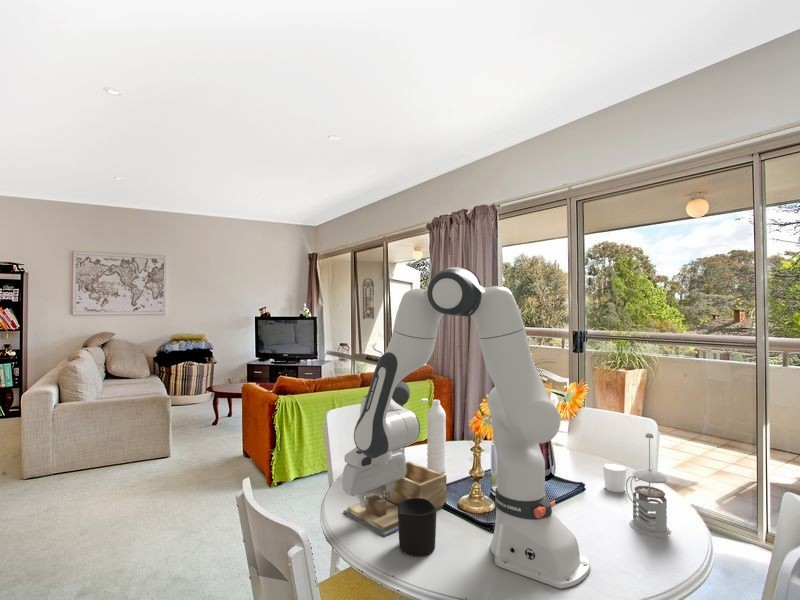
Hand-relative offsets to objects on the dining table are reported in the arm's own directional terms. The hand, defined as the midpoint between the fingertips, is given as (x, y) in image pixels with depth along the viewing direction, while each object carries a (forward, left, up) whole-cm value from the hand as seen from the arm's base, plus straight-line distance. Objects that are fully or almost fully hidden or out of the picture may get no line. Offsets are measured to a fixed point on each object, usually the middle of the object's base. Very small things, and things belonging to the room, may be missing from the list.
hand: (376, 502), depth 125 cm
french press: (-52, -50, -5) cm, 72 cm away
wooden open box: (0, -14, -5) cm, 15 cm away
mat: (0, -1, -5) cm, 5 cm away
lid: (0, -1, -4) cm, 4 cm away
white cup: (-36, -69, -5) cm, 78 cm away
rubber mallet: (+26, -33, -5) cm, 42 cm away
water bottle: (+14, -38, -5) cm, 41 cm away
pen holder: (-18, +2, -5) cm, 19 cm away
